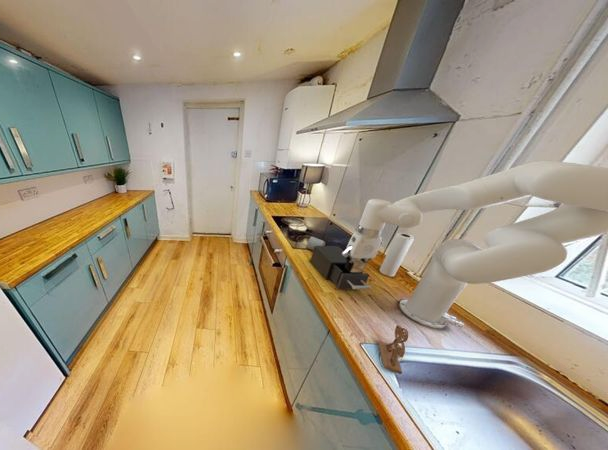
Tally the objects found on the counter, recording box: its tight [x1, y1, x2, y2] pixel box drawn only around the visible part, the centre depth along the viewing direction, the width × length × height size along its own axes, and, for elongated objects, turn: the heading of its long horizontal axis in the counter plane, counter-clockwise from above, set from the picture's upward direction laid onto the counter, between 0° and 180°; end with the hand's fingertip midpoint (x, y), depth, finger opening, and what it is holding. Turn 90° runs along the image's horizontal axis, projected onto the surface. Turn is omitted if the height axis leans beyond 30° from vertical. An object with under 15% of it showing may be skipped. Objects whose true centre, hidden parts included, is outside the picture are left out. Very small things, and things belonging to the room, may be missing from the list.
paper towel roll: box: [379, 232, 415, 278], centre depth 94 cm, size 7×6×21 cm
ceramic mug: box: [306, 236, 326, 251], centre depth 116 cm, size 11×8×8 cm
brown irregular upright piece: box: [377, 324, 409, 375], centre depth 58 cm, size 9×4×12 cm, turn 151°
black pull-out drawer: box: [329, 264, 372, 290], centre depth 88 cm, size 18×11×8 cm, turn 2°
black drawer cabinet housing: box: [309, 245, 352, 280], centre depth 98 cm, size 15×13×10 cm
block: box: [351, 258, 366, 272], centre depth 83 cm, size 4×4×4 cm
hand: (353, 268), depth 84 cm, fingers closed on block, 4 cm apart
